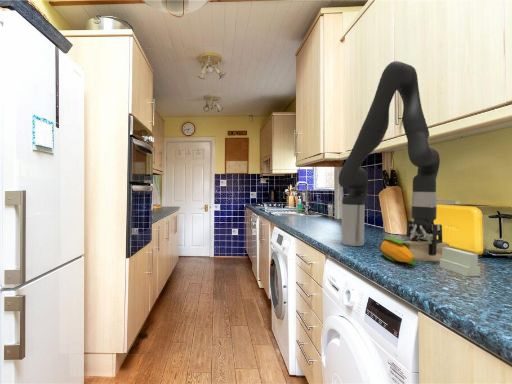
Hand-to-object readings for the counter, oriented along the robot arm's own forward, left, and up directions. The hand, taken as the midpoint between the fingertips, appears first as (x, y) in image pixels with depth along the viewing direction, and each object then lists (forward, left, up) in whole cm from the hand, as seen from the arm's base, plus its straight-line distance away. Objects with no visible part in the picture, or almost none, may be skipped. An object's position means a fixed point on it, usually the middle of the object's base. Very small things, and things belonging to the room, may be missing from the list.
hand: (423, 252), depth 102 cm
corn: (+2, -11, -3) cm, 11 cm away
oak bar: (0, +1, -3) cm, 3 cm away
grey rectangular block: (+15, 0, -2) cm, 15 cm away
